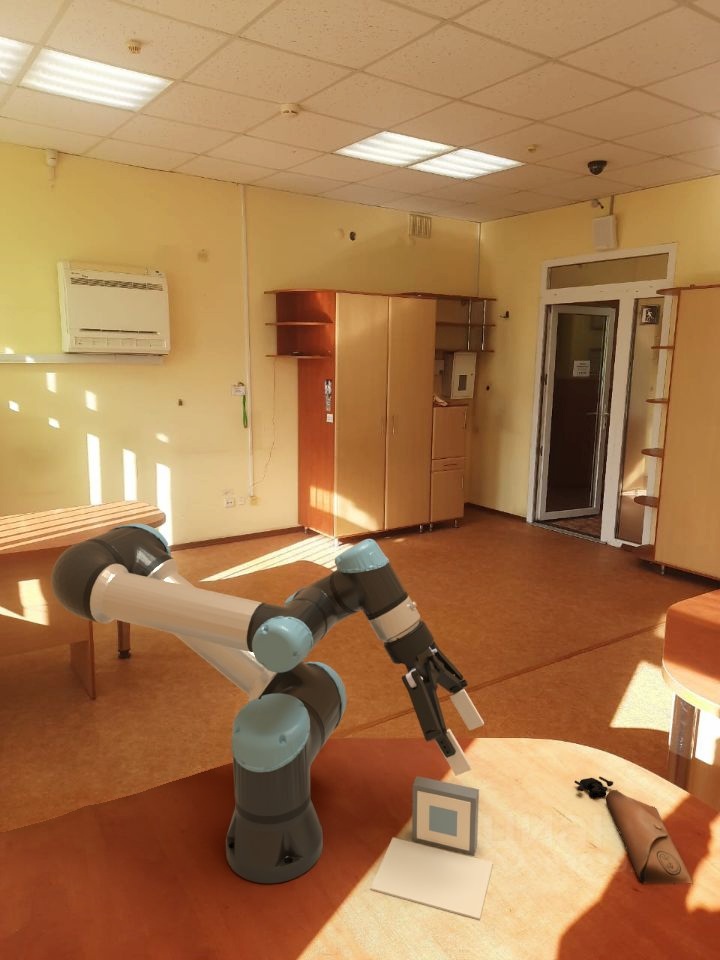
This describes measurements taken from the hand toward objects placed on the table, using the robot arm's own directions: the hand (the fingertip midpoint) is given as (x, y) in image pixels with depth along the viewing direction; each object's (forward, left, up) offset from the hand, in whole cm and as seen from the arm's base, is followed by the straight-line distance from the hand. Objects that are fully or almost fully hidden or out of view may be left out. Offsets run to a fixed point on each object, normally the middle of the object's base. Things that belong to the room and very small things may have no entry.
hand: (470, 748), depth 108 cm
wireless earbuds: (+19, +18, -16) cm, 30 cm away
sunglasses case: (+27, +8, -16) cm, 32 cm away
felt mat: (-3, -11, -15) cm, 19 cm away
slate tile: (-3, -3, -16) cm, 16 cm away
